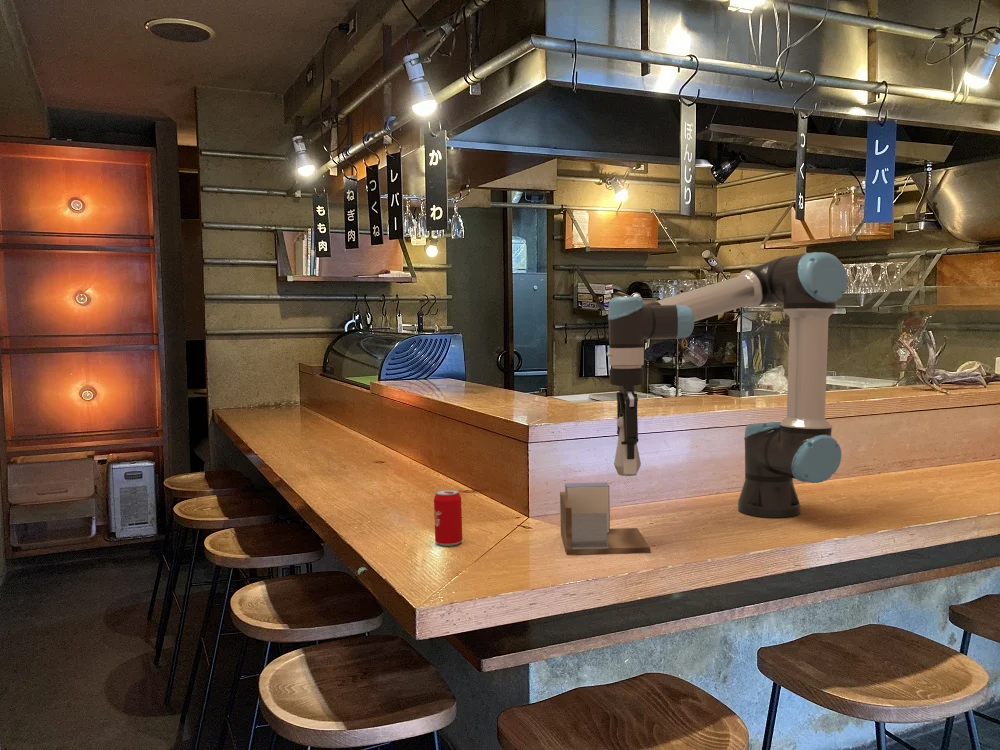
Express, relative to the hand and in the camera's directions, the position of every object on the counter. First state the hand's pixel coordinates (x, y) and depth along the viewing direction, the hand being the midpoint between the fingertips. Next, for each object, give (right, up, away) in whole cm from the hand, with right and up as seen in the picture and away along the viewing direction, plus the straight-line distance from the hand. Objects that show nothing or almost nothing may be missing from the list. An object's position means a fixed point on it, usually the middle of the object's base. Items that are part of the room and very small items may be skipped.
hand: (627, 470), depth 177 cm
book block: (-8, -15, +7) cm, 19 cm away
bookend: (-9, -16, -5) cm, 19 cm away
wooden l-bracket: (-5, -17, +2) cm, 17 cm away
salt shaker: (0, -1, 0) cm, 1 cm away
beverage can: (-40, -17, +5) cm, 44 cm away
